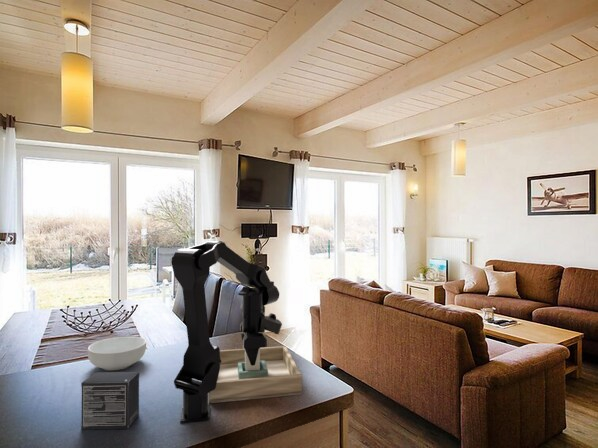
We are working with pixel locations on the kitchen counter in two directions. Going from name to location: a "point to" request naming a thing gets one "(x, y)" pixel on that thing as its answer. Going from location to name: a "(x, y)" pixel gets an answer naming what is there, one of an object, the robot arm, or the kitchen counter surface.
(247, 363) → the grey plug
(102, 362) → the cereal bowl
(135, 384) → the small box
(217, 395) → the walled box
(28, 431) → the kitchen counter surface
